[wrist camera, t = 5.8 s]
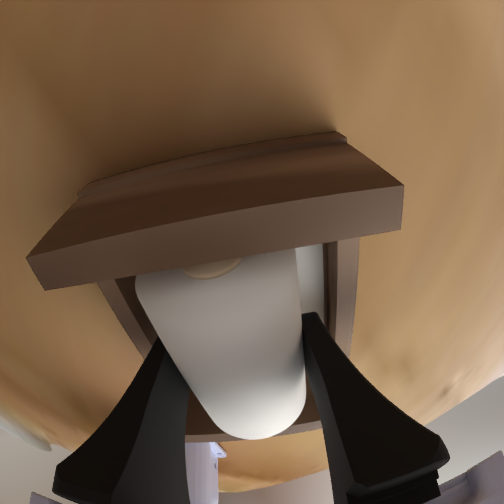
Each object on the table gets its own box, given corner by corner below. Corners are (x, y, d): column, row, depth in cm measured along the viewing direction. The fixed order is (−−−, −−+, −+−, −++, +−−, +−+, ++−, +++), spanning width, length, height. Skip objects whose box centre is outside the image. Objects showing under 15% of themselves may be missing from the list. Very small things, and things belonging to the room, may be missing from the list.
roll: (290, 347, 15) (319, 424, 11) (203, 368, 15) (214, 449, 11) (270, 202, 11) (321, 283, 7) (142, 234, 10) (122, 332, 6)
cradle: (337, 351, 17) (358, 420, 13) (181, 374, 18) (175, 444, 14) (337, 131, 10) (404, 177, 6) (87, 184, 11) (22, 252, 6)
